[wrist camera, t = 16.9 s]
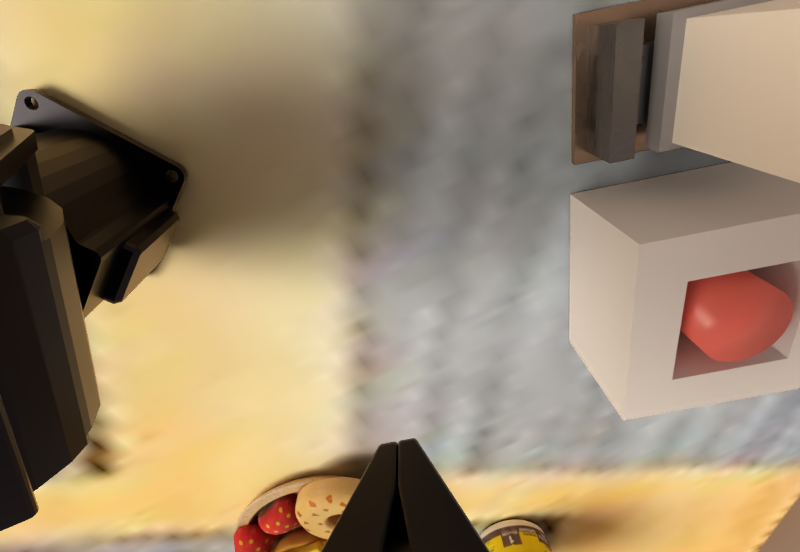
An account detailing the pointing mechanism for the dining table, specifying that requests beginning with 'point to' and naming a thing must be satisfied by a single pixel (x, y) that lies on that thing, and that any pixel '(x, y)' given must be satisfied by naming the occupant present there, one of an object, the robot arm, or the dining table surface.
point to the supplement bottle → (515, 537)
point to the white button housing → (679, 283)
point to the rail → (614, 78)
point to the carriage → (729, 83)
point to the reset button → (734, 315)
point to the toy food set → (294, 515)
